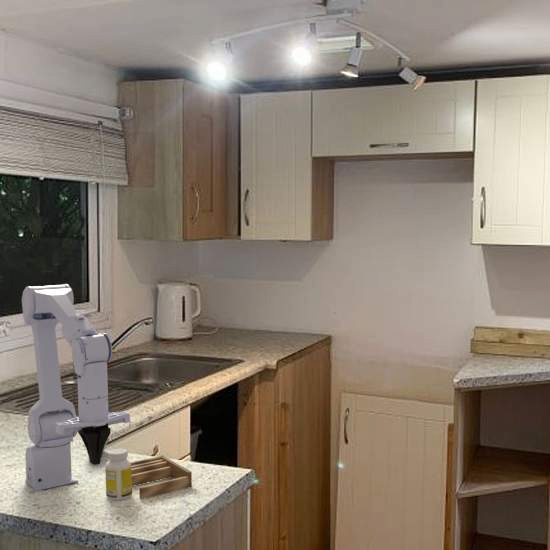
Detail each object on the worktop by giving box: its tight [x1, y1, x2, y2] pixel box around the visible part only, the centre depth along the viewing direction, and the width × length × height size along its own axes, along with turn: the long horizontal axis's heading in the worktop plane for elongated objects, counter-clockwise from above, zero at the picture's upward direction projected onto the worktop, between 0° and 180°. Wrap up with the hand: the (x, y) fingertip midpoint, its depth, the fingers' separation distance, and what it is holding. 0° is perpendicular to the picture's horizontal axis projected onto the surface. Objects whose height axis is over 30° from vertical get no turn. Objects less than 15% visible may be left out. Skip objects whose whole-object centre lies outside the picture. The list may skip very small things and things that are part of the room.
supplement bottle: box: [104, 448, 133, 501], centre depth 158 cm, size 5×5×10 cm
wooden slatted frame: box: [130, 455, 193, 500], centre depth 166 cm, size 12×14×3 cm
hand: (94, 463), depth 148 cm, fingers closed
